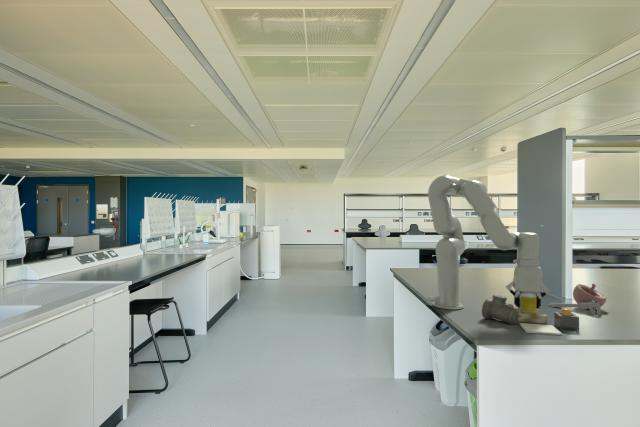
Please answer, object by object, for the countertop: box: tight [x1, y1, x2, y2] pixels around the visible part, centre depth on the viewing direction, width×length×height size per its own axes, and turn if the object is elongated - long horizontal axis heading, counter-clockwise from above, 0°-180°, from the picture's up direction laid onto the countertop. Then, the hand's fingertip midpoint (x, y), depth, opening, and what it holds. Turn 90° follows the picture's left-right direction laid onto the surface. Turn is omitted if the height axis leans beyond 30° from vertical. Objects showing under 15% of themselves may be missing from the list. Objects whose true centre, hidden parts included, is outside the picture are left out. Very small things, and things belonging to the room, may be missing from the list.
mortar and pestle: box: [572, 283, 607, 310], centre depth 162 cm, size 12×12×12 cm
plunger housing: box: [553, 311, 580, 332], centre depth 134 cm, size 6×6×5 cm
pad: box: [519, 322, 563, 336], centre depth 132 cm, size 11×10×1 cm
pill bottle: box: [518, 292, 537, 314], centre depth 147 cm, size 6×6×12 cm
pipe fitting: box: [481, 294, 518, 325], centre depth 143 cm, size 12×8×10 cm
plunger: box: [560, 307, 572, 316], centre depth 134 cm, size 3×3×5 cm
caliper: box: [546, 300, 602, 316], centre depth 160 cm, size 21×1×6 cm, turn 32°
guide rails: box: [514, 306, 548, 324], centre depth 147 cm, size 10×11×3 cm
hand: (527, 307), depth 147 cm, fingers closed on pill bottle, 6 cm apart
